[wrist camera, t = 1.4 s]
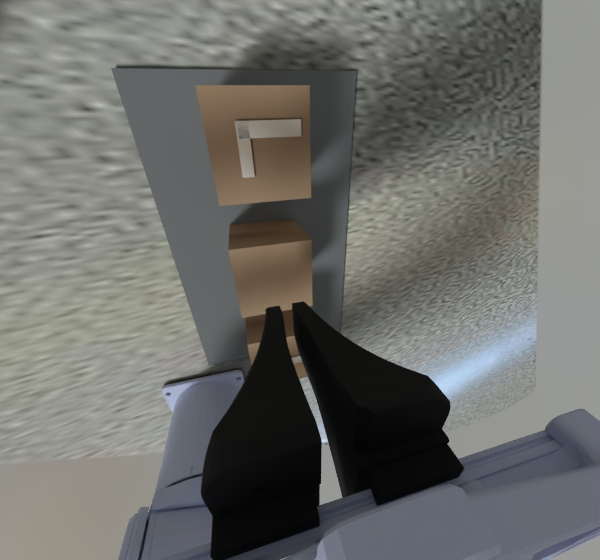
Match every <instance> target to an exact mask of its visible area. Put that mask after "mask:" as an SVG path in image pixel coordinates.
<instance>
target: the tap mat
mask: <svg viewBox="0 0 600 560" xmlns="http://www.w3.org/2000/svg"><path fill="white" fill-rule="evenodd" d="M111 69H112V72H113V75H114V78H115V81H116V84H117V87H118V90H119V93H120V96H121V99H122V102H123V105H124V108H125V111H126V114H127V117H128V120H129V123H130V126H131V130H132V133H133V136H134V139H135V142H136V145H137V148H138V151H139V154H140V157H141V160H142V163H143V166H144V169H145V172H146V175H147V178H148V181H149V184H150V187H151V190H152V193H153V196H154V199H155V202H156V206H157V209H158V212H159V215H160V218H161V221H162V224H163V227H164V230H165V233H166V236H167V239H168V242H169V245H170V248H171V251H172V254H173V257H174V260H175V263H176V266H177V269H178V272H179V275H180V278H181V281H182V285H183V288H184V291H185V294H186V297H187V300H188V303H189V306H190V309H191V312H192V315H193V318H194V321H195V324H196V327H197V330H198V333H199V336H200V339H201V342H202V345H203V348H204V351H205V354H206V357H207V361H208V364H209V366H210V365H214V364H219V363H224V362H229V361H234V360H239V359H244V358H248V357H250V356H249V351H248V346H247V333H246V319H245V318H242V316H241V311H240V306H239V301H238V296H237V291H236V286H235V281H234V276H233V271H232V266H231V261H230V256H229V251H228V247H229V225H235V224H245V223H254V222H264V221H274V220H283V219H293V218H294V219H295V220H296V221H297V222H298V224H299V225H300V226H301V227H302V229H303V230H304V231H305V232H306V233H307V235H308V236H309V237H310V238H311V240H312V300H313V306H309V307H310V308H311V309H312V310H313V311H314V312H315V313H317V314H318V315H319V316H320V317H321V318H322V319H323V320H324V321H325V322H327V323H328V324H329V325H330V326H331V327H333V328H334V329H335V330H336V331H338V332H339V333H340V327H341V310H342V294H343V278H344V262H345V246H346V229H347V213H348V197H349V181H350V165H351V149H352V132H353V116H354V100H355V84H356V71H301V70H216V69H131V68H111ZM195 85H310V149H311V198H304V199H293V200H282V201H271V202H259V203H248V204H237V205H226V206H219V201H218V196H217V191H216V186H215V181H214V176H213V171H212V166H211V161H210V156H209V151H208V146H207V141H206V136H205V131H204V126H203V121H202V116H201V111H200V106H199V101H198V96H197V91H196V86H195Z"/></svg>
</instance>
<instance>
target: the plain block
mask: <svg viewBox="0 0 600 560" xmlns="http://www.w3.org/2000/svg"><path fill="white" fill-rule="evenodd" d="M228 251H229V256H230V261H231V266H232V271H233V276H234V281H235V286H236V291H237V296H238V301H239V306H240V311H241V316H242V318H245V317H251V316H257V315H262V314H266V312H265V310H266V308H268V307H273V306H279V305H280V308H281V310H282V311H285V310H291V309H292V303H297V302H303V301H304V302H305V303H306V304H307V305H308V306H313V300H312V240H311V238H310V237H309V236H308V235H307V233H306V232H305V231H304V230H303V229H302V227H301V226H300V225H299V224H298V222H297V221H296V220H295V219H294V218H293V219H283V220H274V221H264V222H254V223H245V224H235V225H229V247H228Z"/></svg>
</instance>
